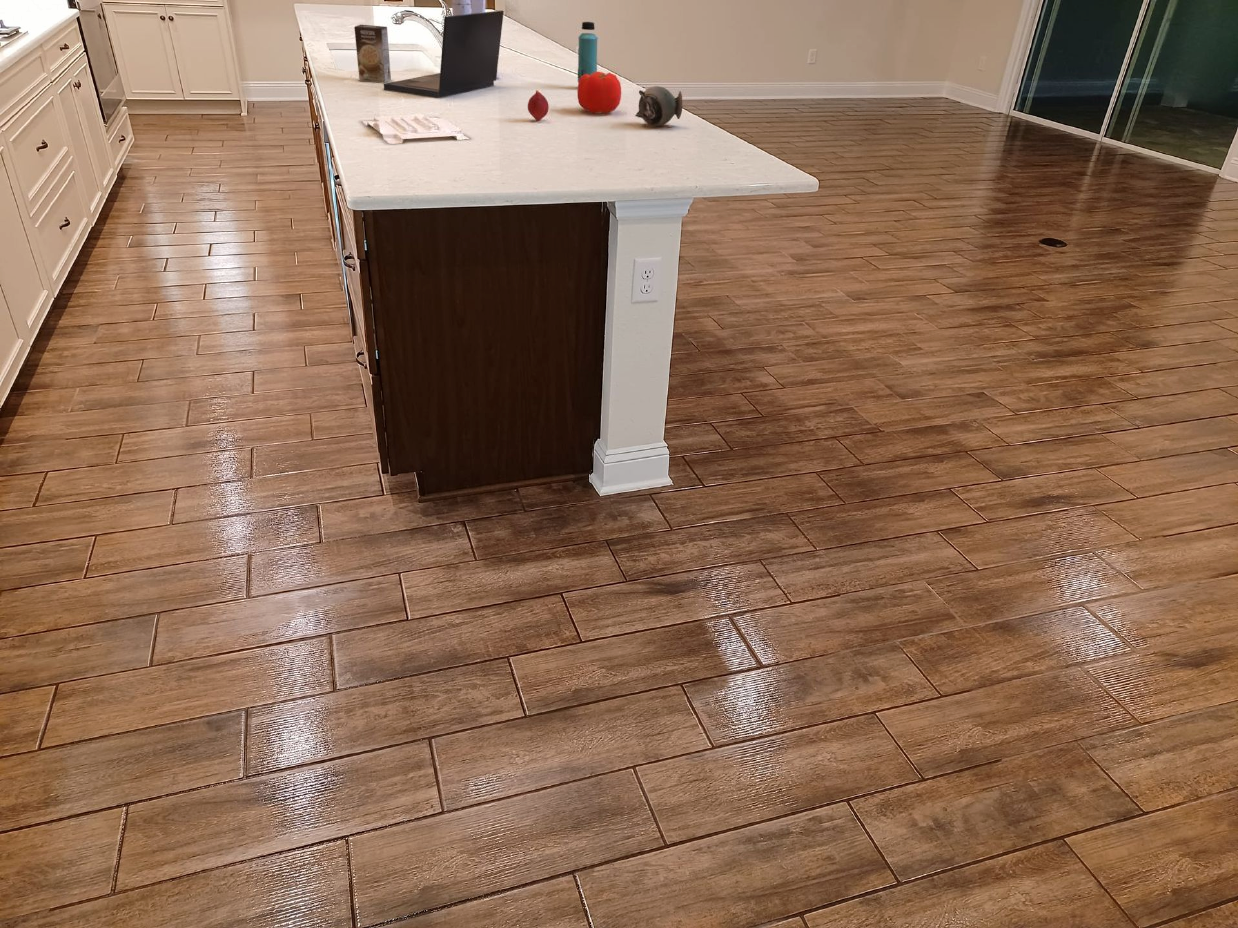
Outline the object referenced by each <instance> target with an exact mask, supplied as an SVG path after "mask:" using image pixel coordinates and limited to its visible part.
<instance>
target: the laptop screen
mask: <svg viewBox="0 0 1238 928" xmlns="http://www.w3.org/2000/svg"><path fill="white" fill-rule="evenodd" d="M504 12H505V10H493V11H492V10H491V11H485V12H482V13H473V14H464V15H455V16H453V15H446V16H444V17H443V20H444V21H443V31H442V42H441V43H442V44H441V55H440V56H441V59H440V72H439V73H440V83H439V92H446V91H450V90H455V89H459V88H464V87H468V86H473V85H478V84H482V83H487V82H491V81H494V82H496V81H497V79H496V76H497V77H498V67H499V66H498V65H499V56H500V48H501V39H502V31H503V22H504Z"/></svg>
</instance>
